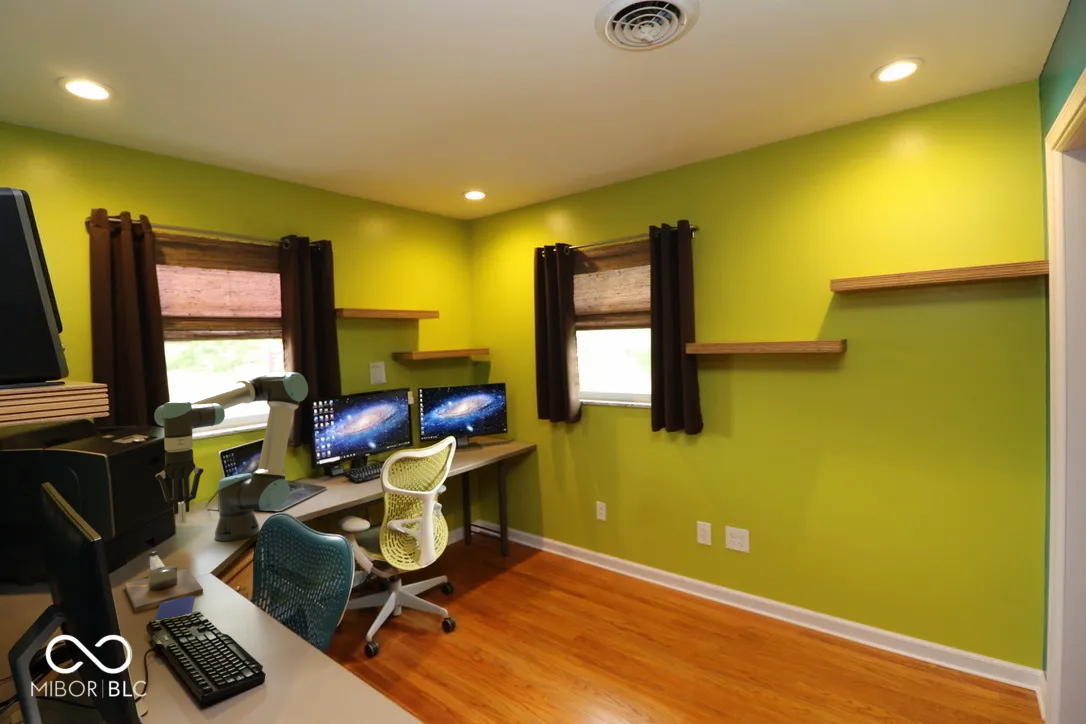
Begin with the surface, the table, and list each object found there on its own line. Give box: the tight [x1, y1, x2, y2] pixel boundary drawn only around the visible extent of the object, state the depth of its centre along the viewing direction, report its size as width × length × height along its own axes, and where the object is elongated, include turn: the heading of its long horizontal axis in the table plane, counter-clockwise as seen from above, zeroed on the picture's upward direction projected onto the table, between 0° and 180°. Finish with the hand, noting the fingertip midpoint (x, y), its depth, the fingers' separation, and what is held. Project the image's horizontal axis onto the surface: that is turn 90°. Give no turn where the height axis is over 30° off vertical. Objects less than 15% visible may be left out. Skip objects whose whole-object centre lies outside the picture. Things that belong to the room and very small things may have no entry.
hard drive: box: [154, 596, 196, 621], centre depth 149 cm, size 2×8×12 cm
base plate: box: [124, 567, 204, 613], centre depth 162 cm, size 16×22×2 cm
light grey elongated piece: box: [147, 550, 178, 590], centre depth 168 cm, size 23×7×5 cm, turn 43°
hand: (181, 523), depth 175 cm, fingers closed
